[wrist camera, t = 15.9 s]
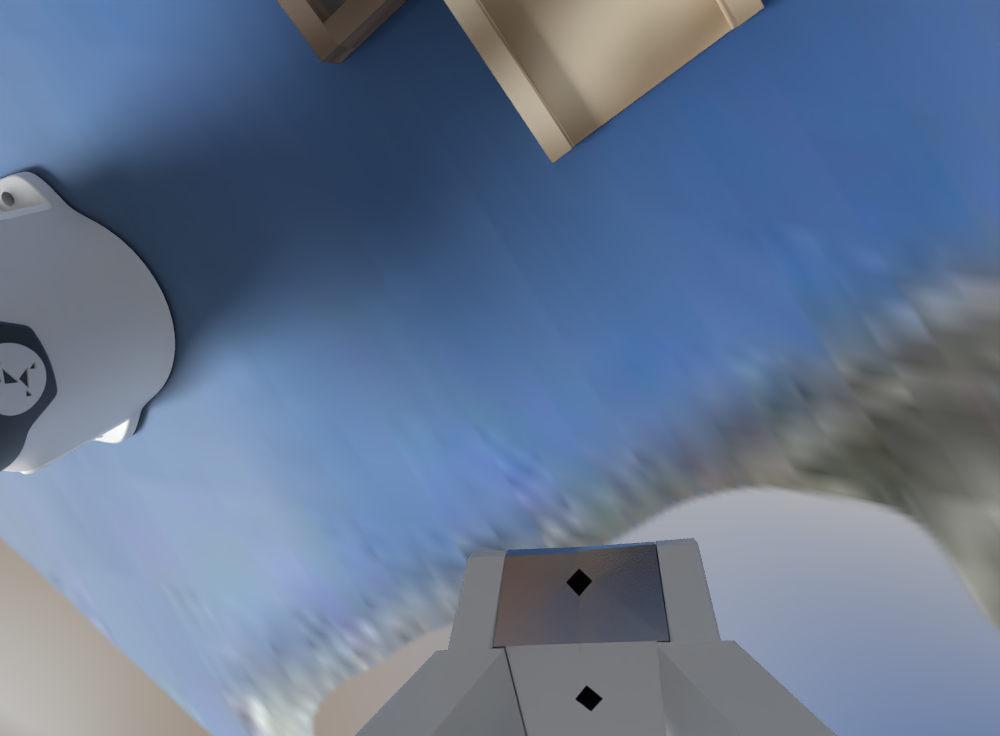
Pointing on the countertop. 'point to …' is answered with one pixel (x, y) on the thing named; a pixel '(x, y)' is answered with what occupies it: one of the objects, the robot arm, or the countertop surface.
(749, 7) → the wooden cross frame
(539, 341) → the countertop surface
